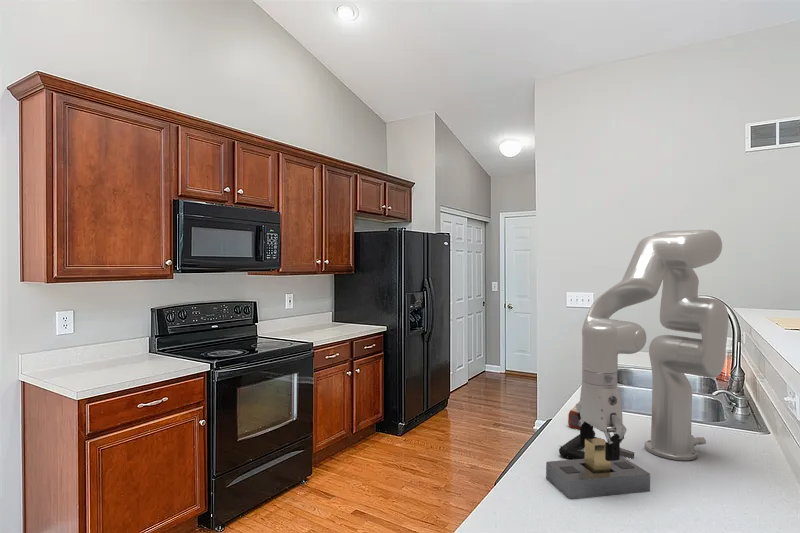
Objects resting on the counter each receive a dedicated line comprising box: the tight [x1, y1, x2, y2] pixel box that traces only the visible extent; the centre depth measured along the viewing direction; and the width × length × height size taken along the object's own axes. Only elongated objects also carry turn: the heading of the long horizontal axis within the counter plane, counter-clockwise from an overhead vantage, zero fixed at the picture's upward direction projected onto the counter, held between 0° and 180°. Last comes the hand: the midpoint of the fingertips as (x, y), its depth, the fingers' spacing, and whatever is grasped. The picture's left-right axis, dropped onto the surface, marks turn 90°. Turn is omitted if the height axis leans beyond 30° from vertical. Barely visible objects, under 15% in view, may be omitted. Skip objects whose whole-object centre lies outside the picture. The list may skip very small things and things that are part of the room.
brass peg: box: [584, 437, 610, 474], centre depth 111 cm, size 4×4×10 cm
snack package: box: [567, 400, 581, 431], centre depth 157 cm, size 21×7×7 cm, turn 146°
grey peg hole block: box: [545, 456, 651, 500], centre depth 111 cm, size 20×10×4 cm, turn 102°
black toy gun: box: [558, 429, 635, 460], centre depth 130 cm, size 3×20×16 cm
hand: (598, 451), depth 112 cm, fingers open, 9 cm apart
